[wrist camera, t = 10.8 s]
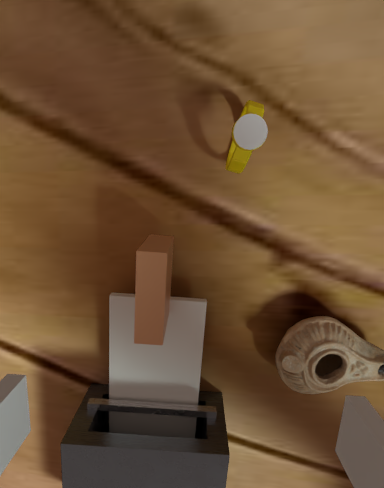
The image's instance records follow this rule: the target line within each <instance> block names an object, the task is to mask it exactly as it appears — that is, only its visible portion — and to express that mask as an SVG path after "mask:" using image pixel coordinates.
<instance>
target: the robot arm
mask: <svg viewBox="0 0 384 488" xmlns="http://www.w3.org/2000/svg"><path fill="white" fill-rule="evenodd" d="M30 431H31V428H30V416H29V404H28V393H27V381H26V375H17V374H7V375H6V376H5V377H4V378H3V379H2V380H1V381H0V475H1V474H2V472H3V471H4V469H5V468H6V466H7V465H8V464H9V462H10V461H11V459H12V458H13V456H14V455H15V453H16V452H17V450H18V449H19V447H20V446H21V444H22V443H23V441H24V440H25V438H26V437H27V435H28V434H29V433H30ZM335 452H336V454H337V456H338V458H339V460H340V462H341V464H342V466H343V468H344V470H345V472H346V474H347V475H348V477H349V479H350V481H351V483H352V485H353V487H354V488H384V421H383V419H382V418H381V417H380V415H379V414H378V413H377V411H376V410H375V409H374V408H373V406H372V405H371V404H370V402H369V401H368V400H367V399H366V397H363V396H347V395H346V398H345V403H344V408H343V413H342V418H341V423H340V428H339V433H338V438H337V443H336V448H335Z"/></svg>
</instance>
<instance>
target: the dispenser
mask: <svg viewBox="0 0 384 488" xmlns="http://www.w3.org/2000/svg"><path fill="white" fill-rule="evenodd" d="M109 411H114V412H128V413H143V414H158V415H172V416H187V417H197V420H196V432H195V439H194V438H179V437H164V436H150V435H135V434H120V433H109ZM228 463H229V447H228V439H227V431H226V422H225V414H224V406H223V398H222V393H221V392H207V391H199V397H198V405H187V404H172V403H158V402H143V401H128V400H114V399H109V385H105V384H91V385H90V387H89V389H88V391H87V393H86V395H85V397H84V399H83V401H82V403H81V405H80V407H79V409H78V411H77V412H76V414H75V416H74V418H73V420H72V422H71V424H70V426H69V428H68V430H67V432H66V434H65V436H64V438H63V440H62V442H61V464H62V486H63V488H226V480H227V472H228Z"/></svg>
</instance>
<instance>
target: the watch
mask: <svg viewBox="0 0 384 488" xmlns="http://www.w3.org/2000/svg"><path fill="white" fill-rule="evenodd" d="M263 114H264V105H263V104H260V103H257V102H254V101H251V100H248V101H247V102H246V104H245V106H244V108H243V111H242V113H241V116H240V118H239V119H238V120H237V121H236V122H235V124H234V126H233V128H232V139H233V140H232V143H231V146H230V150H229V153H228V157H227V161H226V170H228V171H231V172H235V173H238V174H239V173H241V172H242V171H243V170H244V168H245V166H246V164H247V162H248V160H249V158H250V155H251V153H252V151H253V150H256V149H257V148H259V147H260V146H261V145H262V144H263V143H264V142H265V140H266V138H267V133H268V129H267V125H266V122H265V121H264V119H263Z"/></svg>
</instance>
